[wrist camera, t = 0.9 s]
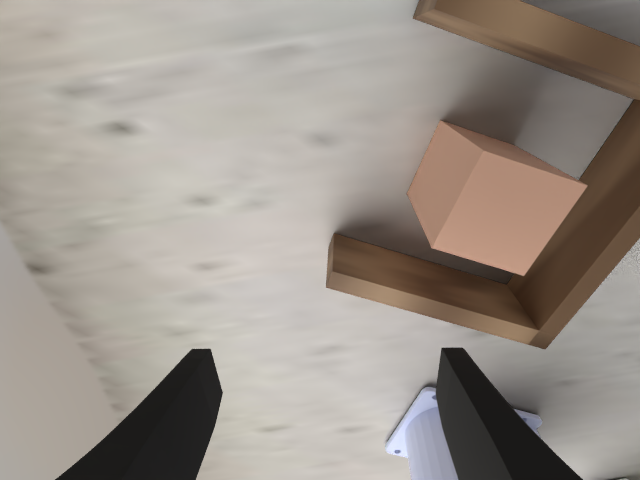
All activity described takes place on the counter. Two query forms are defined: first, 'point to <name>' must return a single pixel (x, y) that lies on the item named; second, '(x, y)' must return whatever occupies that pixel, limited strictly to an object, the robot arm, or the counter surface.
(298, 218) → the counter surface
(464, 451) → the robot arm
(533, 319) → the open-sided box
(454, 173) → the terracotta block
